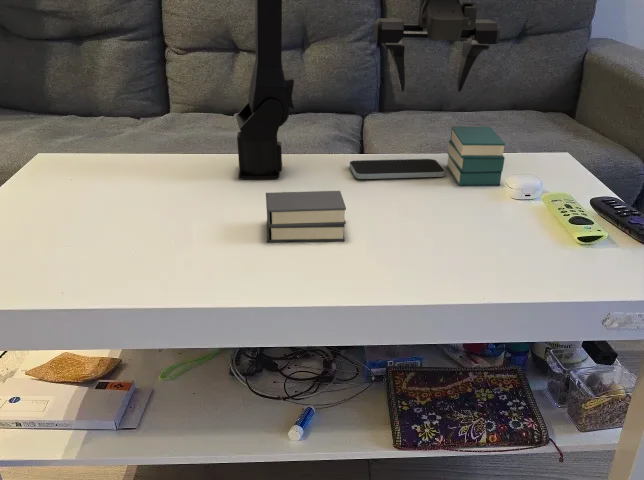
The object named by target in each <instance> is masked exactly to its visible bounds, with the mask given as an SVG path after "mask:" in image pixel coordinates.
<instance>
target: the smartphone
mask: <svg viewBox="0 0 644 480" xmlns="http://www.w3.org/2000/svg"><path fill="white" fill-rule="evenodd" d="M348 167H349V169H350V171H351V172H352V175H353V176H354V178H356V179H358V180H370V179H371V180H374V179H375V180H377V179H409V178H410V179H411V178H415V179H416V178H441V177H442V178H443V177H445V176H446V169H445V168H444V167H443V165H441V164H440V163H439V162H438V161H437V160H436V159H433V158H409V159H408V158H407V159H406V158H403V159H402V158H401V159H366V160H365V159H364V160H363V159H362V160H361V159H359V160H350V161H349V166H348Z"/></svg>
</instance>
